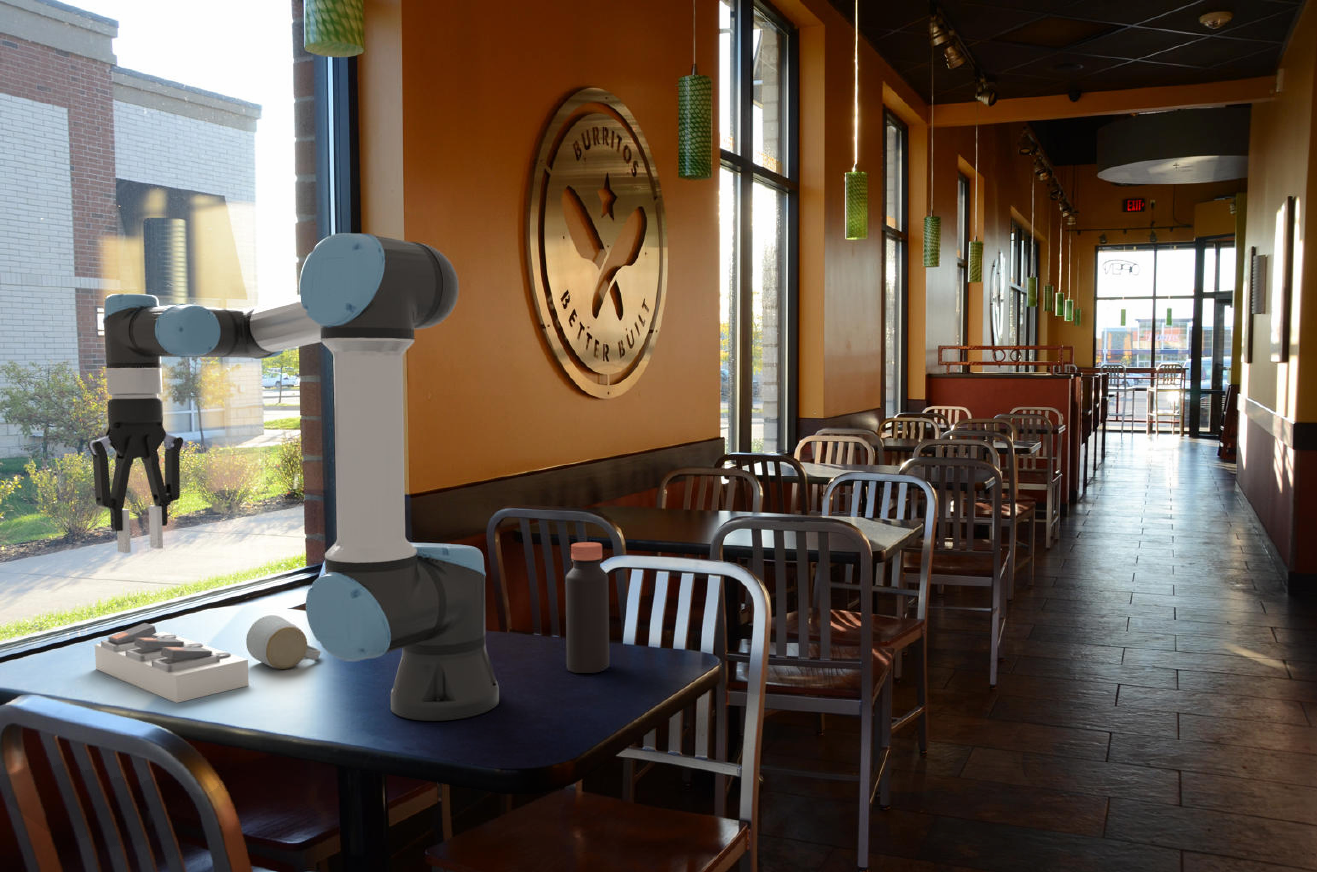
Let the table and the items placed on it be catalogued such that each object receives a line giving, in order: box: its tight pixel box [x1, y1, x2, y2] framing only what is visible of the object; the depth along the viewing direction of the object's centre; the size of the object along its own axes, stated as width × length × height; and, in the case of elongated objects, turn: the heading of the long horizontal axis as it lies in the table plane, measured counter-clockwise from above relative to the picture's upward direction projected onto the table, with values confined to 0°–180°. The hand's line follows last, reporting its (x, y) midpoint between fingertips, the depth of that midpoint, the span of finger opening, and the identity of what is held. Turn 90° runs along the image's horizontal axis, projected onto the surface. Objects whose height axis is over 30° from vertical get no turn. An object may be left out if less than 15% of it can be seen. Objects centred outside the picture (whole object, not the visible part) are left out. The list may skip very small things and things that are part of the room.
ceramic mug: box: [245, 614, 322, 670], centre depth 173 cm, size 11×8×8 cm
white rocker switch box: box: [94, 631, 250, 704], centre depth 165 cm, size 28×11×5 cm, turn 50°
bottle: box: [565, 541, 610, 674], centre depth 168 cm, size 7×7×20 cm
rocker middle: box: [134, 638, 184, 649], centre depth 164 cm, size 4×6×1 cm, turn 140°
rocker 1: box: [107, 622, 157, 645], centre depth 170 cm, size 4×6×1 cm, turn 139°
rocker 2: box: [161, 647, 212, 659], centre depth 158 cm, size 4×6×1 cm, turn 140°
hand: (140, 549), depth 161 cm, fingers open, 4 cm apart
